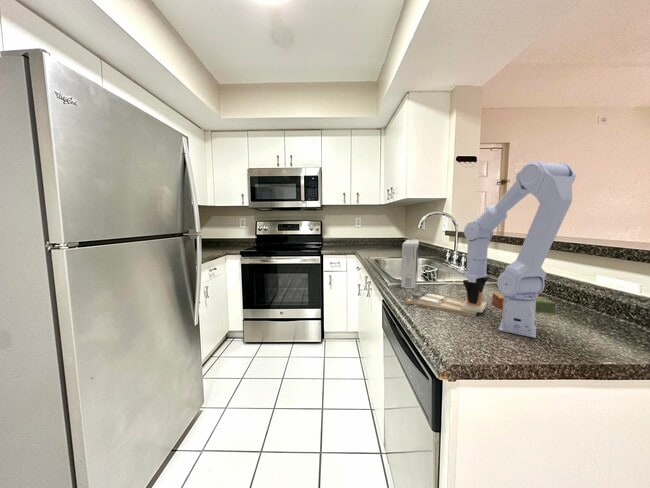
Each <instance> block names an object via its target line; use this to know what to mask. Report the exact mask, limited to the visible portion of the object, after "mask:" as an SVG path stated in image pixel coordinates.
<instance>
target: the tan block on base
mask: <svg viewBox="0 0 650 488" xmlns="http://www.w3.org/2000/svg"><path fill="white" fill-rule="evenodd" d="M464 301H465V302H464V303H463V304H462V305H461V309H464V310H469V311H475V312H478V313H483V312H484V310H485V309H486V307H487V304H488V303H487V301H483V292H479V296H478V301H477V303H476V304H473V303H469V301H468V295H467V294H466V300H464Z"/></svg>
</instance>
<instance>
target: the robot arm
mask: <svg viewBox="0 0 650 488" xmlns="http://www.w3.org/2000/svg"><path fill="white" fill-rule="evenodd" d="M515 175H516V176H515V181H514V183H512V185H511V186H510V187H509V189H508V190H507V191H506V192H505V193H504V194H503V196H502V197H501V198H500V199H499V201H498V202H497V203H496V204H494V205H493V204H491V205H489V206H486V208H485V209H484V211H483V213H482V214H480V215H479V217H477V218H476V220H473V221H470V222H467V224H466V225H465V226H464V229H463V235H464V237H465V239H466V240H467V254H466V255H467V256H466V270H465V271H462V273H461V274H462V275H466V276H467V278H468V279H463V281H462V284H463V285H464V287H465V290H466V296H467V295H468V301H469V303H473V304H476V303H477V301H478V296H479V292H482V293H483V290H484V288H485V285H486V284H487V283H486V282H487V281H488V280H489V277H487V276H488V273H487V267H488V266H487V265H488V264H487V263H488V250H489V249H488V248H489V246H490V243H491V239H492V238H493V236H494V231H495V229H497V227H499V226H500V225H501V224H502V223H503V222H504V221H505V220H506V219H507V217H508V213H507V212H509V211H510V210H511V209H512V208H513V207H514V206H515V205H517V204H518V203H519V202H520V201H522V200H523V199H524V198H525V197H527V195H529V194H531V195H533V196H534V197H535V198H536V200H537V202H538V203H539V205H538V207H537V210H536V212H535V214H534V217H533V220H532V222H531V224H530V227H529V229H528V231H527V234H526V236H525V238H524V241H523V244H522V246H521V247H520V250H519V252H518V255H517V258H516V260H515V261H513V262H511V263H510V264H509V265H507V266H506V267H505V269H504V271H503V272H502V273H501V274H499V275H498V278H497V280H496V281H497V287H498V290H499V292H500V294H502V295H503V296H504V301H503V310H502V317H501V318H502V319H501V322H500V324H499V327H498V331H500V332H505V333H509V334H513V335H514V334H515V335H519V336H523V337H524V336H525V337H528V338H535V339H536V338H537V325H536V324H535V321H536V313H535V309H536V298H538V297H539V294H541V293H542V292H543V291H544V289H545V286H546V285H545V284H546V283H545V279H546V276H547V273H546V271H545V270H544V268H542V267H543V264H544V262H545V260H546V258H547V256H548V254H549V252H550V249H551V246H552V244H553V243H554V241H555V239H556V237H557V234H558V232H559V230H560V228H561V225H562V224H563V221H564V219H565V218H566V215H567V213H568V211H569V208H570V206H571V204H572V201H573V184H574V182H575V180H576V177H577V174H576V173H575V171H574V170H573V168H572V167H571V166H570V164H567V163H564V162H563V163H561V162H559V163H557V162H556V163H555V162H541V161H537V160H536V161H535V160H534V161H529V162H527V163H526V164H525V165H524V166H522V168H521V170H520V171H519V172H517V173H516V174H515Z"/></svg>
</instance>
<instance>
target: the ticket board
mask: <svg viewBox="0 0 650 488" xmlns="http://www.w3.org/2000/svg"><path fill="white" fill-rule="evenodd" d="M465 301H466V300H462V299H456V298H449V297H448V296H445V295H438V294H432V293H429V290H427V289H421V290H419V291H417V292H416V293H414V294H412V296H410V298H408V299H407V300H406V299H405V303H407V304H406V305H408V304H412V305H411V306H414V305H417V306H416V307H419V306H422V307H421V308H424V307H426V309H431V310H435V311H441V312H446V313H452V314H456V315H462V316H467V317H472V318H475V317H476V316H477V314H478V313H479V312H475V311H469V310H464V309H461V305H462V304H463V303H464V302H465ZM405 303H404V304H405Z"/></svg>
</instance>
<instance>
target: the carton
mask: <svg viewBox="0 0 650 488" xmlns="http://www.w3.org/2000/svg"><path fill="white" fill-rule="evenodd" d="M491 298H492V300H491V301H492V304H493V306H495V307H496V308H497V309H498V310H502V311H503V301H504V296H503V295H502V293H501V292H500V293H498V292H493V293H492V297H491ZM556 313H557V304H556V302H554V301H553V300H550V299H549V298H547V297H544V296H538V298H536V309H535V314H545V315H556Z"/></svg>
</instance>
